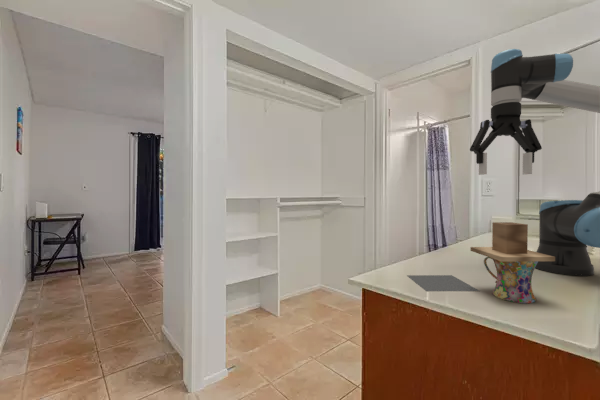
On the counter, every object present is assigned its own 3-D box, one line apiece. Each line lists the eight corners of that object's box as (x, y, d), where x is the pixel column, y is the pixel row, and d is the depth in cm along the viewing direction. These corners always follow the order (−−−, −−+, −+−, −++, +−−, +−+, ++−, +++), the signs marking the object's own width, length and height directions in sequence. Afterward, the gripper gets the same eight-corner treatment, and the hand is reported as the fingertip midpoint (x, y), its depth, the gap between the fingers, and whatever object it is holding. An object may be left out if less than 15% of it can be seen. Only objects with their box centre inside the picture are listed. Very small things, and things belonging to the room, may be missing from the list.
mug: (547, 303, 67) (547, 258, 67) (522, 309, 63) (523, 262, 63) (495, 287, 78) (495, 249, 78) (472, 292, 74) (472, 252, 74)
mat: (451, 277, 88) (451, 275, 88) (480, 293, 74) (480, 290, 74) (406, 277, 88) (406, 275, 88) (426, 293, 74) (426, 291, 74)
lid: (515, 250, 76) (515, 220, 76) (555, 261, 64) (555, 226, 64) (470, 250, 76) (470, 221, 76) (501, 261, 64) (502, 226, 64)
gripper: (536, 107, 90) (535, 174, 90) (457, 108, 90) (457, 175, 91) (558, 100, 82) (556, 173, 83) (471, 101, 83) (471, 173, 83)
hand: (504, 174), depth 87 cm, fingers open, 13 cm apart
